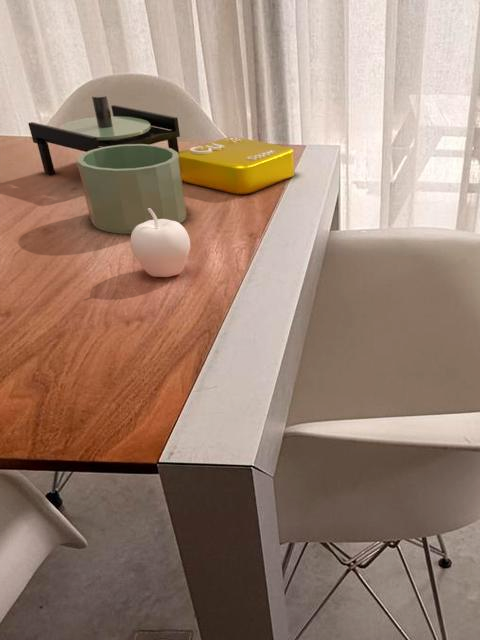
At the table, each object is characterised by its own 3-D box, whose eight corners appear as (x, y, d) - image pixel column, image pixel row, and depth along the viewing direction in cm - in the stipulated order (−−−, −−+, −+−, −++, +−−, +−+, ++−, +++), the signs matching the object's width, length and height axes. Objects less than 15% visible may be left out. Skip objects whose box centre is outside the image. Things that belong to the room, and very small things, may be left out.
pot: (136, 241, 94) (123, 176, 89) (72, 220, 100) (56, 158, 94) (205, 214, 103) (197, 154, 97) (143, 197, 109) (132, 139, 103)
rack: (103, 191, 110) (92, 137, 105) (41, 174, 117) (27, 122, 112) (184, 167, 122) (177, 117, 117) (123, 152, 129) (114, 104, 124)
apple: (126, 270, 86) (113, 205, 81) (177, 257, 90) (167, 194, 85) (152, 288, 82) (139, 221, 77) (204, 274, 86) (195, 209, 81)
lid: (100, 149, 108) (92, 109, 104) (41, 134, 114) (32, 97, 110) (169, 131, 117) (164, 94, 114) (112, 119, 124) (105, 83, 120)
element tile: (244, 196, 110) (242, 165, 107) (175, 180, 116) (171, 150, 113) (299, 174, 120) (298, 145, 117) (233, 161, 126) (230, 132, 122)
